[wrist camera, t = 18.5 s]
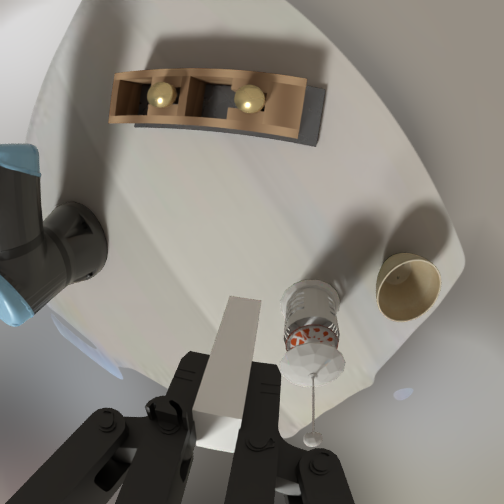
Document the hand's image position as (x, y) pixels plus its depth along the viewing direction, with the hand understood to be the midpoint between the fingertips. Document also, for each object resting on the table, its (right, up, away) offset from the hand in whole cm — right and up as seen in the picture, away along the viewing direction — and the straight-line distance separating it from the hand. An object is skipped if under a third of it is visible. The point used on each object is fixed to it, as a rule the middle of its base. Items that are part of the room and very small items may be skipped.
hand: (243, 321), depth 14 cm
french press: (+10, -6, +31) cm, 33 cm away
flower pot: (+23, +1, +26) cm, 35 cm away
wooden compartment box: (-5, +23, +19) cm, 31 cm away
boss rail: (-3, +23, +20) cm, 31 cm away
